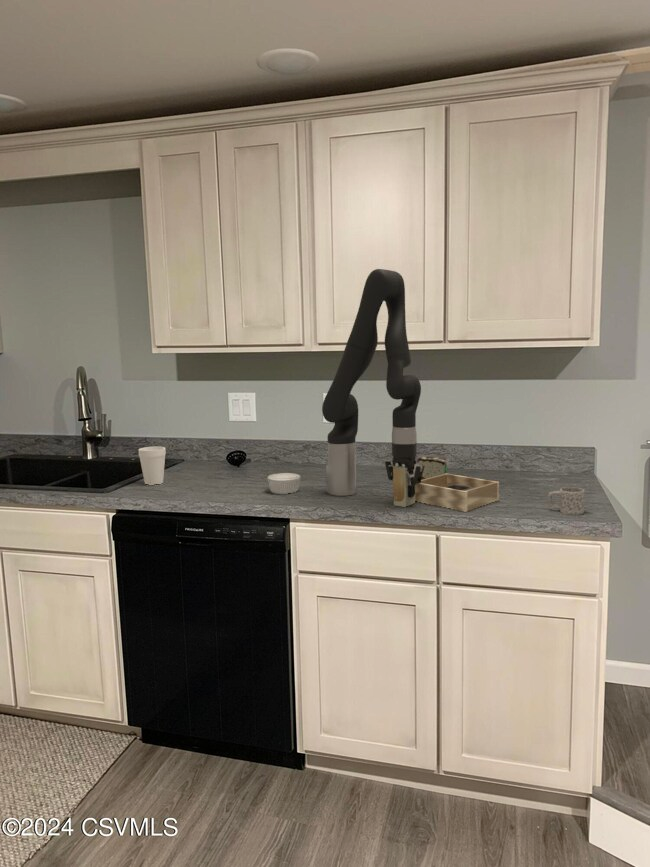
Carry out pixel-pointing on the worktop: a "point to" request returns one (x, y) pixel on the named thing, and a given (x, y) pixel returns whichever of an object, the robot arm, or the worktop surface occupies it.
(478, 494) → the walled box
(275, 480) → the ramekin
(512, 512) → the worktop surface
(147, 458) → the foam cup
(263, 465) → the worktop surface
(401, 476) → the skincare box
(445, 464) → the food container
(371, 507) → the worktop surface
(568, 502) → the mug
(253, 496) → the worktop surface
